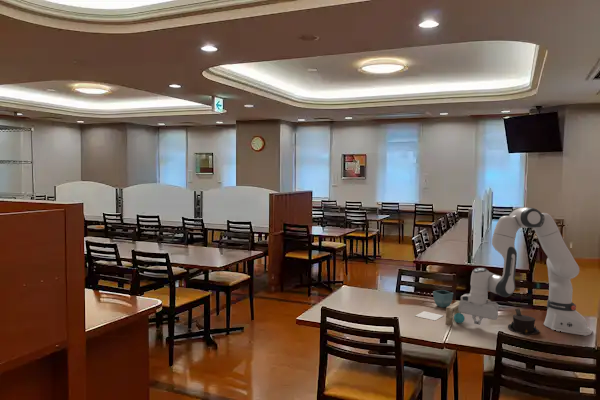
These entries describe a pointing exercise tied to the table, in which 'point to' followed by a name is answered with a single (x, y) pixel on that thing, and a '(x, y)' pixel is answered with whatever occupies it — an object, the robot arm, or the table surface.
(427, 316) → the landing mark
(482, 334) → the table surface
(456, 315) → the ball
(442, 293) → the flower pot
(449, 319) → the bridge
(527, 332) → the top hat
